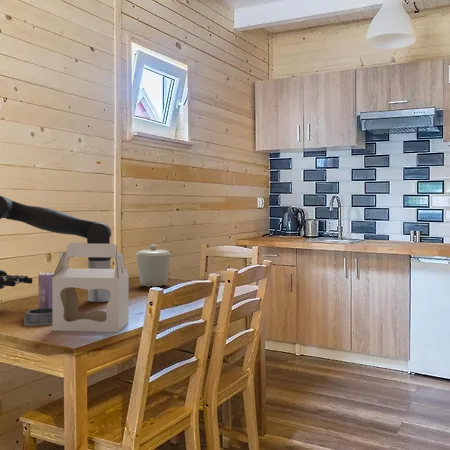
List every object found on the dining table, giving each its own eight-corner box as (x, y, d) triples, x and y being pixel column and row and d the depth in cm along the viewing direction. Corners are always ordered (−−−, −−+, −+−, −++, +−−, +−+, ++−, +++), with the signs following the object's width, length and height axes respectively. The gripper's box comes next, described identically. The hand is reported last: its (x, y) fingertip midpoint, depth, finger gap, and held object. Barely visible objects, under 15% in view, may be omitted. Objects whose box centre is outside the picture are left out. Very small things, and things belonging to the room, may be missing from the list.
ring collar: (59, 316, 190) (59, 306, 190) (61, 323, 179) (61, 313, 179) (24, 319, 186) (24, 308, 186) (24, 326, 175) (24, 315, 175)
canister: (128, 285, 265) (128, 244, 264) (157, 282, 277) (157, 242, 276) (148, 290, 251) (148, 246, 250) (178, 286, 264) (178, 244, 263)
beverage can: (58, 312, 198) (58, 272, 198) (48, 315, 193) (48, 274, 192) (45, 311, 200) (45, 272, 200) (35, 314, 195) (34, 273, 194)
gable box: (129, 323, 181) (129, 242, 180) (119, 332, 168) (119, 245, 167) (66, 321, 182) (66, 241, 181) (51, 331, 169) (51, 244, 168)
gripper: (-23, 271, 200) (9, 274, 194) (6, 267, 213) (37, 270, 207) (-23, 290, 201) (8, 294, 194) (6, 286, 214) (37, 289, 207)
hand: (23, 282), depth 201 cm, fingers open, 8 cm apart
